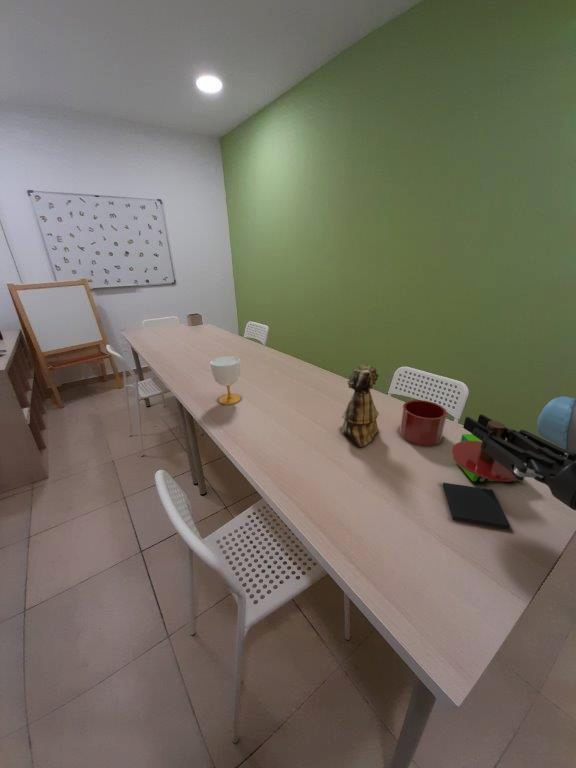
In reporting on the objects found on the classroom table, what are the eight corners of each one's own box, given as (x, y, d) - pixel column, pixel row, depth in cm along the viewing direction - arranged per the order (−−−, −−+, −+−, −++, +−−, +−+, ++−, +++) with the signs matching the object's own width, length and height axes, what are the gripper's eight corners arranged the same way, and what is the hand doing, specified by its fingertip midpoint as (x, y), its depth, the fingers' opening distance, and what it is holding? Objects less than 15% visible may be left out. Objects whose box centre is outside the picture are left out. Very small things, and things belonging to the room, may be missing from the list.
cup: (231, 391, 133) (227, 354, 126) (249, 398, 126) (246, 360, 119) (209, 400, 125) (204, 362, 118) (227, 408, 118) (222, 368, 111)
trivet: (491, 492, 74) (492, 489, 74) (509, 529, 64) (510, 525, 64) (442, 485, 77) (443, 482, 76) (452, 519, 67) (453, 516, 66)
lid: (508, 449, 70) (520, 412, 66) (535, 489, 58) (552, 447, 54) (445, 441, 73) (453, 406, 69) (459, 478, 61) (469, 437, 57)
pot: (437, 427, 102) (442, 402, 98) (445, 448, 91) (451, 421, 87) (398, 422, 105) (401, 398, 101) (401, 443, 94) (405, 416, 90)
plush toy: (323, 432, 99) (343, 365, 86) (342, 416, 109) (362, 354, 97) (362, 454, 92) (389, 385, 80) (378, 435, 103) (404, 371, 90)
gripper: (547, 524, 46) (439, 441, 67) (621, 501, 50) (496, 429, 71) (564, 486, 43) (445, 411, 64) (641, 465, 47) (505, 401, 68)
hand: (472, 421), depth 67 cm, fingers closed on lid, 3 cm apart
